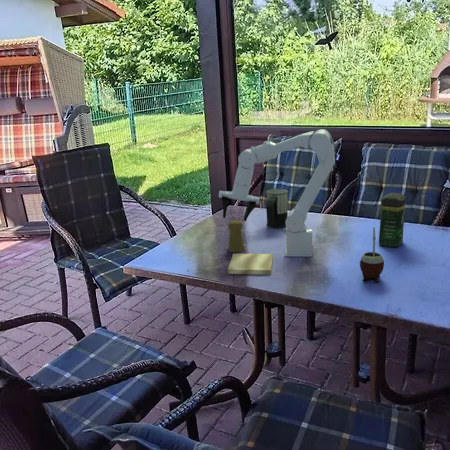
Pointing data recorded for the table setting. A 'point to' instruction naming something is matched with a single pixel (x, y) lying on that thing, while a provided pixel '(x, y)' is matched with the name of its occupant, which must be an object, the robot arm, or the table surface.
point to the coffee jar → (392, 220)
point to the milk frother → (276, 208)
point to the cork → (235, 237)
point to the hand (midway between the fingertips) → (234, 218)
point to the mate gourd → (372, 264)
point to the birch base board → (251, 264)
